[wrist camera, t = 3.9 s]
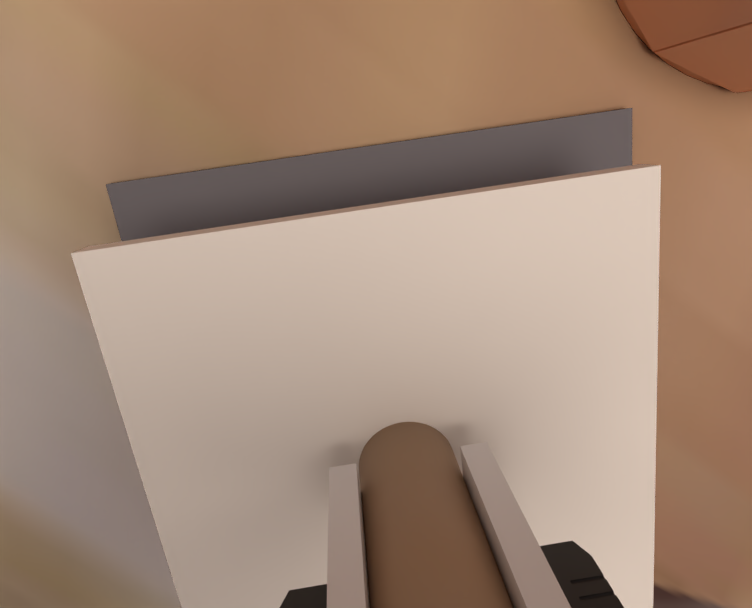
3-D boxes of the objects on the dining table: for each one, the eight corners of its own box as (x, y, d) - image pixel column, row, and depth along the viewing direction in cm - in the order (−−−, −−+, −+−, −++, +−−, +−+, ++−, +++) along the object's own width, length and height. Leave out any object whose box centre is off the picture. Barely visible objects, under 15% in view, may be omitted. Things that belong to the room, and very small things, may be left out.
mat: (226, 594, 25) (224, 603, 24) (111, 183, 19) (105, 184, 19) (625, 532, 25) (630, 539, 25) (625, 108, 20) (632, 107, 19)
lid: (215, 670, 20) (102, 1166, 10) (87, 246, 15) (-346, 423, 5) (637, 597, 20) (910, 1003, 11) (640, 163, 16) (1133, 193, 6)
